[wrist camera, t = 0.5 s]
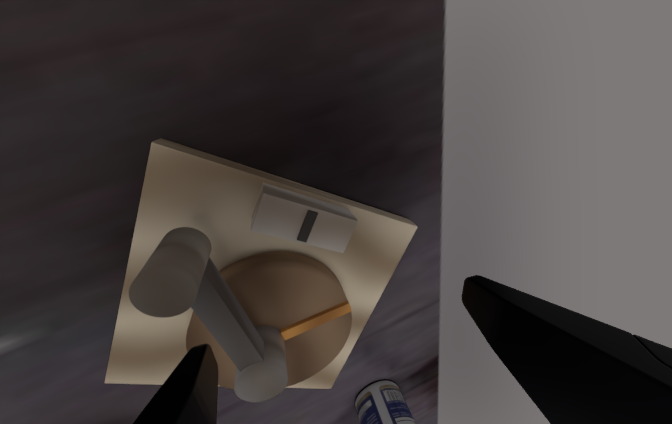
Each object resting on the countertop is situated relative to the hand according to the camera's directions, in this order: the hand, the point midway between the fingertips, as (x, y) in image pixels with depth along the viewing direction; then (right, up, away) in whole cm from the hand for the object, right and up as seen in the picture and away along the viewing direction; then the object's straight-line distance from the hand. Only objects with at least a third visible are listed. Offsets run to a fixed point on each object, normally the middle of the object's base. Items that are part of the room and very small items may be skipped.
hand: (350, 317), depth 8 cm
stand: (-6, -3, +13) cm, 15 cm away
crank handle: (-6, -3, +11) cm, 13 cm away
